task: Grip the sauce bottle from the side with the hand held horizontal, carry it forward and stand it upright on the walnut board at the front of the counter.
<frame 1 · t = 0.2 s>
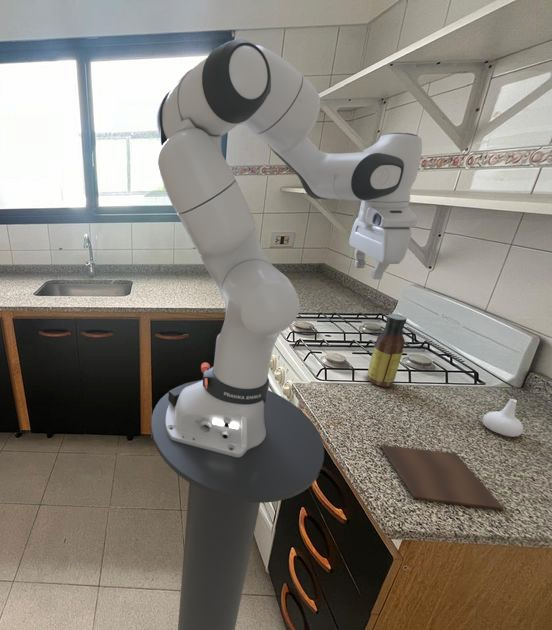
hand: (366, 272, 83), 32 cm above the counter, tool pointing down, fingers open, 8 cm apart
garlic bulb: (498, 430, 79), on the counter
sauce bottle: (378, 381, 96), on the counter
walnut board: (435, 475, 67), on the counter
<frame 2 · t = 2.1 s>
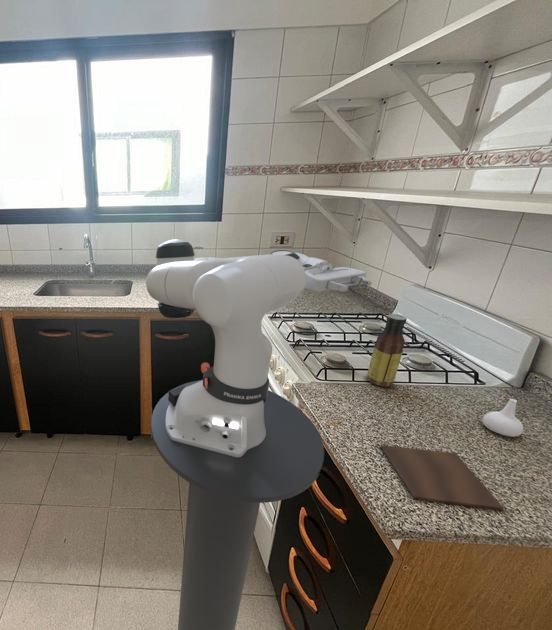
hand: (358, 286, 97), 24 cm above the counter, tool horizontal, fingers open, 8 cm apart
nothing on the counter moved.
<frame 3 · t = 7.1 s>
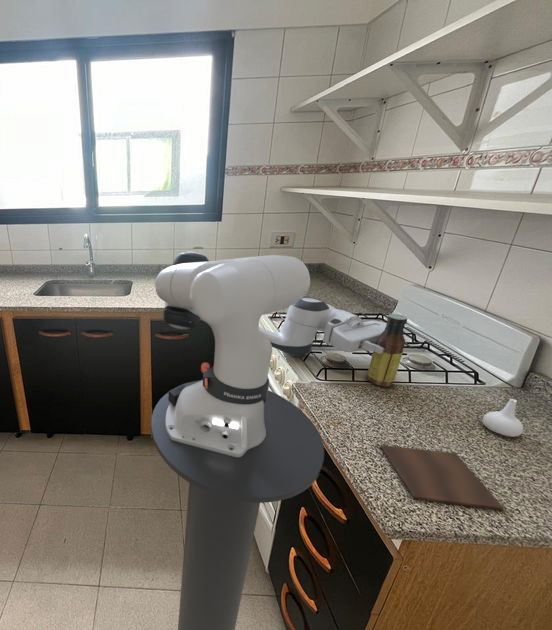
hand: (393, 348, 91), 11 cm above the counter, tool horizontal, fingers closed on sauce bottle, 6 cm apart
sauce bottle: (378, 381, 96), on the counter, touching gripper
everything else where it was.
when the fingers open (12 cm above the counter, at t = 17.8 s): sauce bottle stays where it is, resting on walnut board.
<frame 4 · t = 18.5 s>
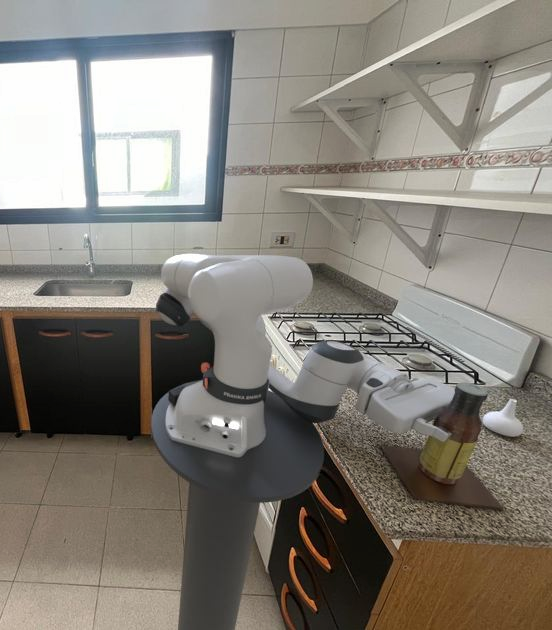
hand: (464, 430, 62), 12 cm above the counter, tool horizontal, fingers open, 8 cm apart
sauce bottle: (435, 473, 67), resting on walnut board
everything else where it was.
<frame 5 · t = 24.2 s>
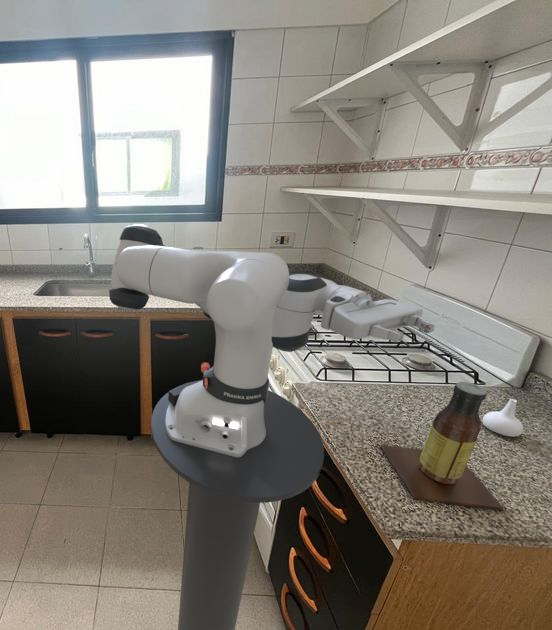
hand: (416, 333, 66), 26 cm above the counter, tool horizontal, fingers open, 8 cm apart
nothing on the counter moved.
at the end: sauce bottle inside the target area on the walnut board (0.2 cm from its centre), point 0.4 cm above the walnut board's base; sauce bottle tilted 0°; the gripper is holding nothing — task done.
